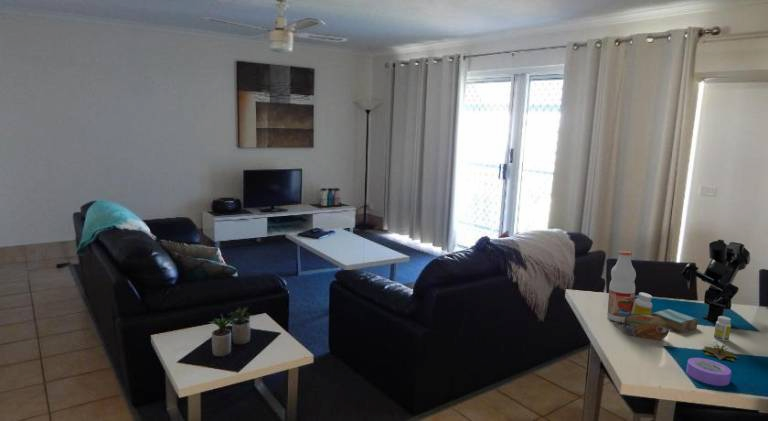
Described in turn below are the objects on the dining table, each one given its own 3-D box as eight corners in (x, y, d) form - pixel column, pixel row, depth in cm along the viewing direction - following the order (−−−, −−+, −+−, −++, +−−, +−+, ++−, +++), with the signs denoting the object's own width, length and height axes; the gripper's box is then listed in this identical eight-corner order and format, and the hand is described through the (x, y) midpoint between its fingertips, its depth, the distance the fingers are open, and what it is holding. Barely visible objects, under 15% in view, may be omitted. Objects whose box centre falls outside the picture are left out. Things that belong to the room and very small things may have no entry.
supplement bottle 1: (649, 329, 195) (657, 299, 192) (631, 326, 196) (639, 296, 193) (643, 322, 202) (651, 293, 199) (626, 319, 202) (634, 290, 199)
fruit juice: (617, 314, 210) (622, 248, 207) (637, 321, 202) (643, 253, 198) (602, 317, 206) (607, 250, 203) (621, 324, 198) (627, 254, 194)
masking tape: (681, 365, 166) (683, 354, 165) (721, 372, 163) (723, 361, 162) (691, 382, 155) (693, 370, 154) (735, 389, 152) (737, 377, 151)
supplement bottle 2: (726, 337, 192) (730, 316, 190) (730, 342, 187) (734, 321, 186) (711, 335, 193) (715, 314, 192) (715, 340, 189) (719, 318, 187)
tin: (622, 334, 189) (625, 313, 188) (621, 331, 192) (624, 310, 191) (667, 342, 184) (670, 320, 183) (665, 339, 187) (669, 317, 186)
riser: (666, 317, 210) (668, 308, 209) (696, 328, 200) (698, 318, 199) (650, 321, 204) (651, 312, 203) (679, 333, 193) (681, 323, 193)
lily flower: (740, 366, 168) (743, 354, 167) (698, 356, 174) (701, 344, 173) (738, 354, 178) (740, 342, 177) (698, 345, 184) (700, 333, 184)
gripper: (699, 245, 197) (684, 270, 190) (751, 269, 188) (738, 297, 181) (688, 261, 205) (673, 286, 198) (737, 285, 197) (724, 313, 189)
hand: (701, 295), depth 191 cm, fingers open, 9 cm apart
